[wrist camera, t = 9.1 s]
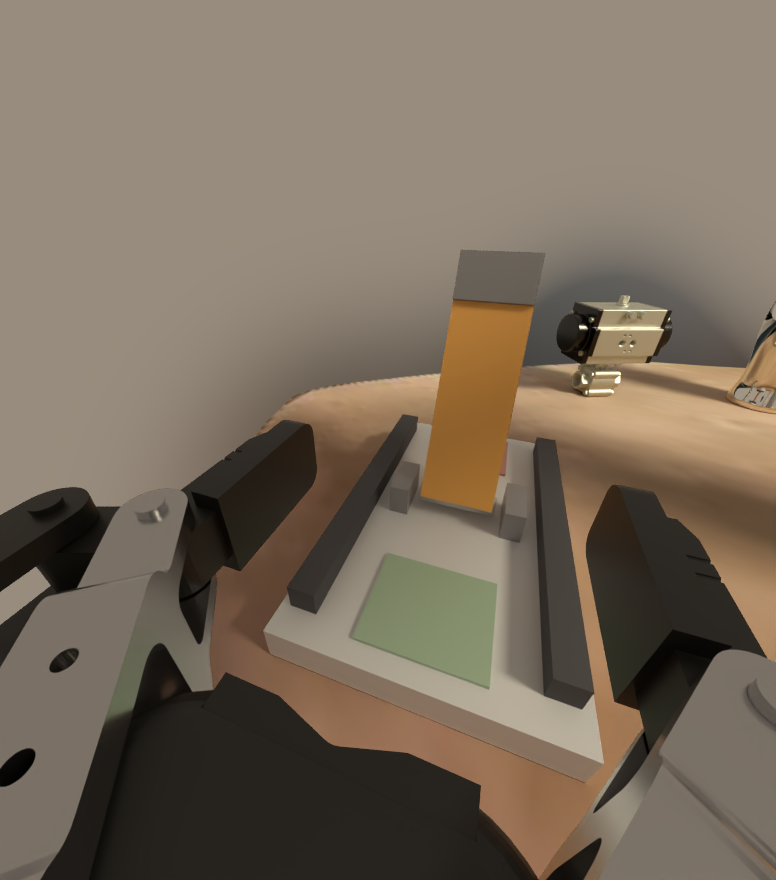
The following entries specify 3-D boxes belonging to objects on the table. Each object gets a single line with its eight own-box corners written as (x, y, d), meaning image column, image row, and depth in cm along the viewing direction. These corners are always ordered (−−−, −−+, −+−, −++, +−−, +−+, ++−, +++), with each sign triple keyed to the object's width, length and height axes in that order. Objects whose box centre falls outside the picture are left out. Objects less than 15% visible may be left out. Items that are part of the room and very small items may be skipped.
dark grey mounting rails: (582, 710, 13) (594, 692, 13) (290, 605, 17) (286, 587, 16) (550, 454, 29) (555, 440, 28) (402, 427, 32) (403, 414, 31)
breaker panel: (585, 782, 13) (626, 741, 11) (270, 653, 17) (254, 604, 15) (549, 465, 31) (562, 426, 29) (401, 437, 35) (402, 401, 32)
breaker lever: (493, 524, 20) (549, 253, 18) (414, 505, 21) (457, 249, 19) (492, 509, 23) (541, 273, 21) (423, 493, 24) (461, 269, 22)
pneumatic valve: (541, 386, 47) (566, 292, 41) (620, 384, 48) (656, 293, 42) (562, 403, 42) (594, 300, 36) (649, 401, 44) (695, 300, 37)
